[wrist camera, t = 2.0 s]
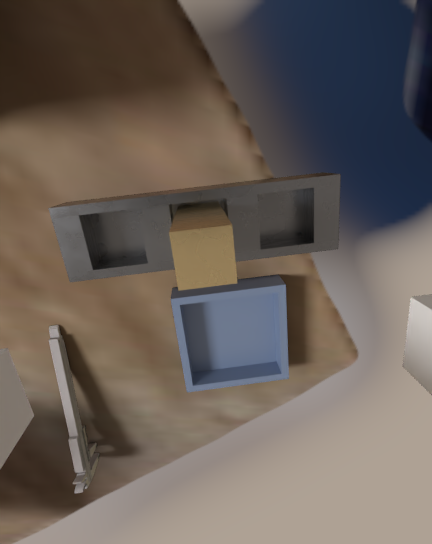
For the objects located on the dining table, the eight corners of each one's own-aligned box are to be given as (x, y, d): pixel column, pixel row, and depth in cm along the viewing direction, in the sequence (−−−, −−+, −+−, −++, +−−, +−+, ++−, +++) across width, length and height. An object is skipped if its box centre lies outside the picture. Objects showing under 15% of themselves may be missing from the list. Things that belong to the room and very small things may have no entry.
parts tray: (172, 287, 35) (170, 299, 32) (278, 274, 35) (285, 284, 32) (187, 375, 39) (186, 392, 36) (281, 362, 39) (288, 378, 36)
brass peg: (177, 206, 31) (168, 232, 19) (218, 201, 31) (232, 224, 19) (183, 244, 32) (178, 290, 21) (222, 240, 32) (237, 283, 21)
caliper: (101, 453, 42) (86, 500, 37) (93, 454, 42) (77, 501, 37) (59, 323, 35) (33, 355, 30) (50, 324, 35) (21, 357, 30)
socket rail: (84, 268, 33) (70, 282, 29) (66, 202, 31) (48, 208, 27) (322, 239, 34) (338, 248, 30) (322, 172, 31) (340, 174, 28)
